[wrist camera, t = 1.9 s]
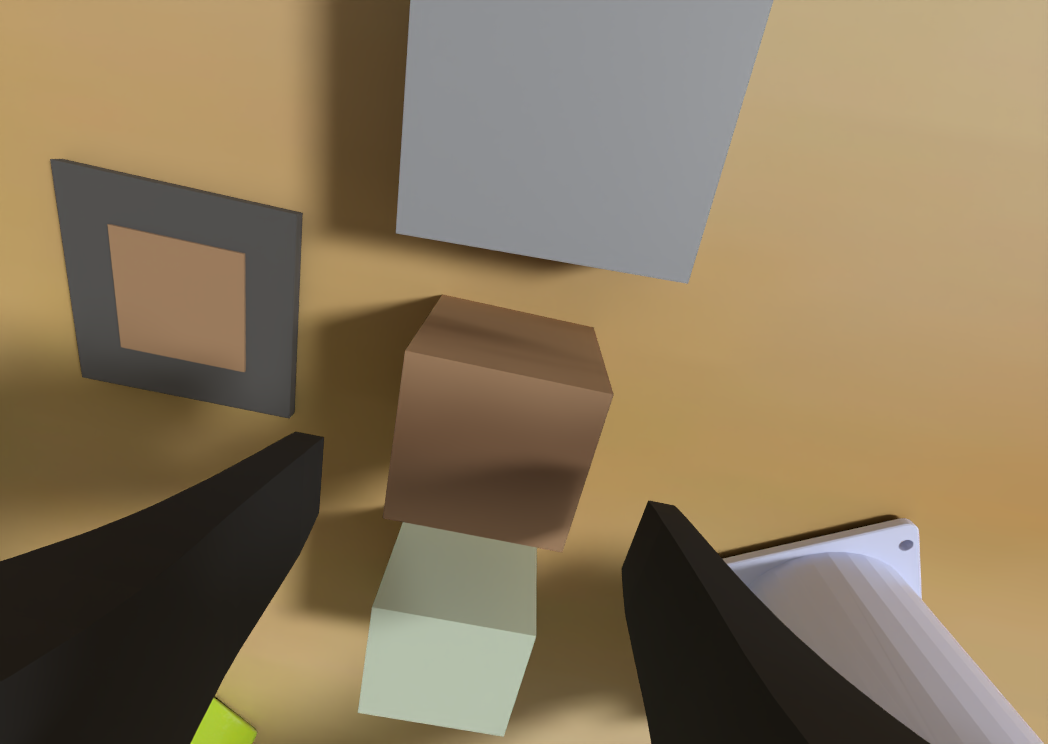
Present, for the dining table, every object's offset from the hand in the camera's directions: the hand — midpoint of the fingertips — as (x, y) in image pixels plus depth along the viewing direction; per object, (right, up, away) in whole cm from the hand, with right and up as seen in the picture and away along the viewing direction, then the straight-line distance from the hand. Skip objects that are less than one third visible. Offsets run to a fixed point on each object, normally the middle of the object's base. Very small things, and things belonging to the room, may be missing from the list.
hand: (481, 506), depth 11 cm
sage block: (-2, -5, +10) cm, 11 cm away
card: (-10, +5, +5) cm, 12 cm away
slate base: (+2, +10, +3) cm, 11 cm away
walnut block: (0, +3, +6) cm, 7 cm away
